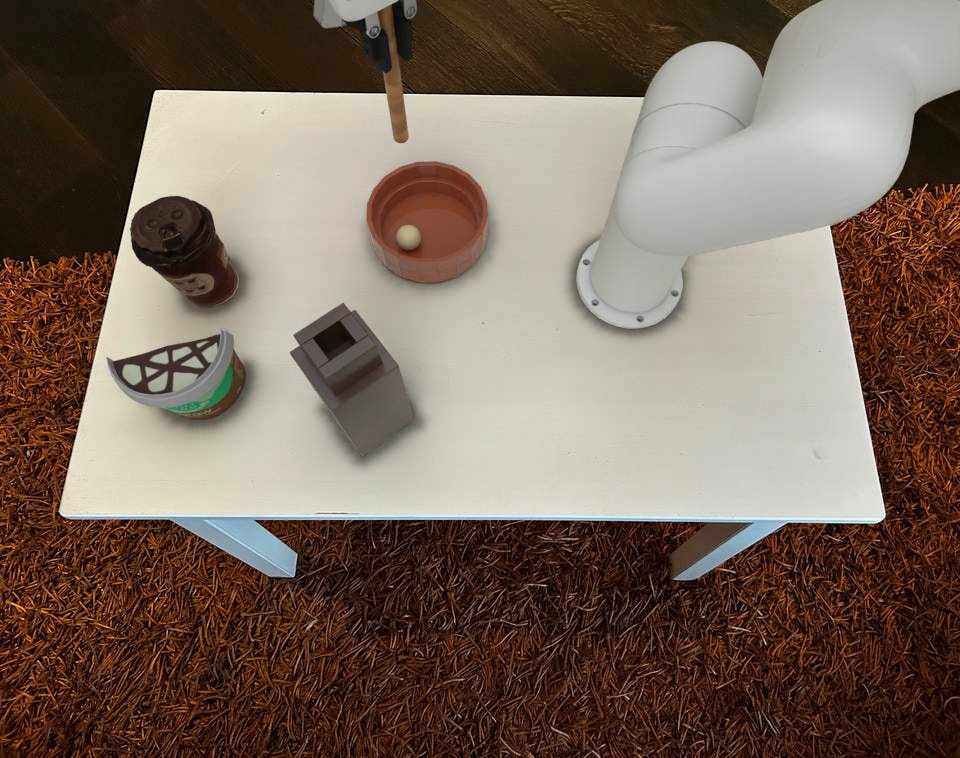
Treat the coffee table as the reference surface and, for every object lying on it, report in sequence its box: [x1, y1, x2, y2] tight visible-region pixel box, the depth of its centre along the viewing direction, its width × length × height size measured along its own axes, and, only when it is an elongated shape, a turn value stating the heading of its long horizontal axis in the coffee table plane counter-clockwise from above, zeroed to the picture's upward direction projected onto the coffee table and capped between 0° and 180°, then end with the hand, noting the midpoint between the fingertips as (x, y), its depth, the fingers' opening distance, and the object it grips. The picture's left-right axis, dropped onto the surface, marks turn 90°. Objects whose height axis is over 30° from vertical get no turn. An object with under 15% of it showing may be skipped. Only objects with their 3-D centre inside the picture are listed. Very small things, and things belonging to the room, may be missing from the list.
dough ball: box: [396, 225, 421, 250], centre depth 78 cm, size 3×3×3 cm
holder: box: [289, 302, 415, 458], centre depth 63 cm, size 7×7×20 cm
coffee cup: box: [129, 195, 240, 308], centre depth 72 cm, size 9×8×13 cm
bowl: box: [365, 160, 489, 283], centre depth 78 cm, size 14×14×5 cm
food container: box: [105, 327, 246, 421], centre depth 68 cm, size 12×6×10 cm, turn 106°
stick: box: [378, 4, 410, 144], centre depth 61 cm, size 2×2×16 cm
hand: (389, 55), depth 59 cm, fingers closed on stick, 1 cm apart
